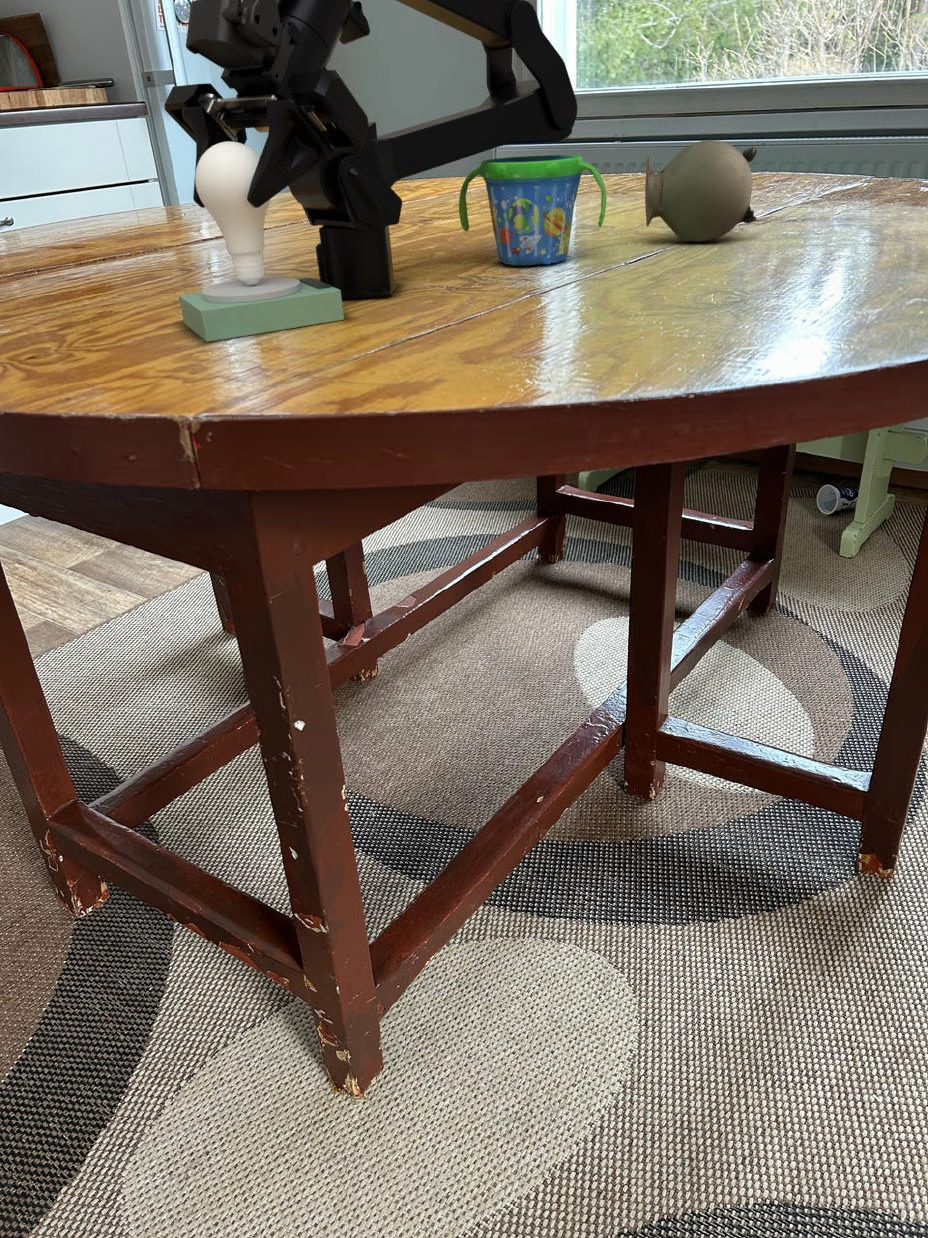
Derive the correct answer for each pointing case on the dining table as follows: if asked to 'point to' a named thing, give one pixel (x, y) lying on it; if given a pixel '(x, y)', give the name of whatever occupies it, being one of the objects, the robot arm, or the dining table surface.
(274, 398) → the dining table surface
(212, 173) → the lightbulb
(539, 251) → the snack cup
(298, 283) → the scale
